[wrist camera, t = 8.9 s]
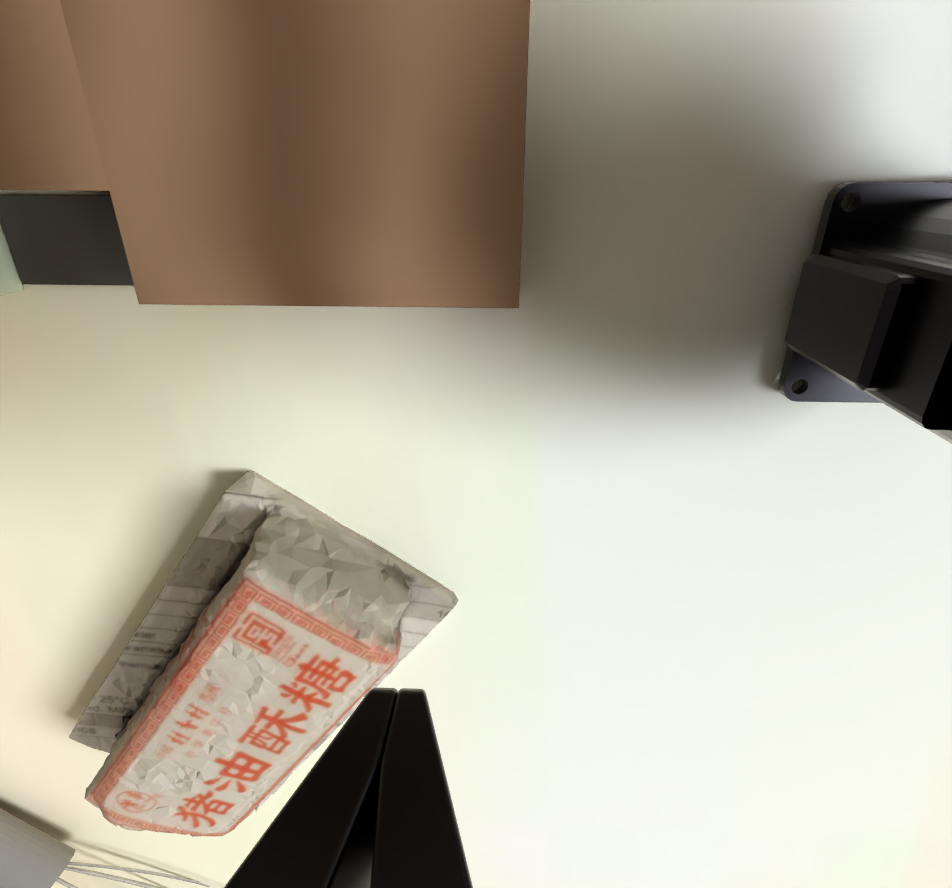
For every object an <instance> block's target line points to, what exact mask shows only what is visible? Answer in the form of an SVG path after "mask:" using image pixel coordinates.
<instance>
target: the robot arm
mask: <svg viewBox="0 0 952 888" xmlns="http://www.w3.org/2000/svg"><path fill="white" fill-rule="evenodd" d="M848 193H851V195H852V203H851V205H850V206H849V207H848V208H847V209H846V210H843V209H842V207H841V205H842V200H843V198H844V197H845V196H846V195H847V194H848ZM785 342H786V343H787V344H788V349H787V353H786V357H785V360H784V364H783V368H782V372H781V376H780V380H779V390H780V392H781V393H782V394H783V395H784V396H786V397H787V398H788V399H790V400H792V401H807V402H872V403H884V404H886V405H887V406H889V407H891V408H892V409H894V410H896V411H897V412H899V413H901V414H902V415H904V416H906V417H907V418H909V419H911V420H912V421H914V422H916V423H917V424H919V425H921V426H922V427H924V428H926V429H928V430H930V431H932V432H933V433H935V434H937V435H938V436H940V437H942V438H943V439H945V440H947V441H948V442H950V443H952V182H846V183H841V184H839V185H838V186H836V187H834V188H833V189H832V191H831V192H830V193H829V194H828V196H827V199H826V201H825V204H824V208H823V212H822V216H821V220H820V224H819V228H818V232H817V236H816V239H815V243H814V247H813V251H812V255H811V256H810V257H809V258H808V259H807V260H806V261H805V262H804V265H803V269H802V273H801V277H800V281H799V285H798V289H797V293H796V297H795V301H794V305H793V309H792V313H791V317H790V321H789V325H788V329H787V333H786V337H785ZM801 379H802V384H801V386H800V387H799V388H797V389H795V390H792V386H793V384H794V383H795V382H796V381H798V380H801ZM224 888H473V886H472V882H471V878H470V874H469V870H468V866H467V862H466V858H465V853H464V849H463V845H462V841H461V837H460V833H459V829H458V824H457V820H456V816H455V812H454V808H453V804H452V800H451V796H450V791H449V787H448V783H447V779H446V775H445V771H444V767H443V762H442V758H441V754H440V750H439V746H438V742H437V738H436V734H435V729H434V725H433V721H432V717H431V713H430V709H429V705H428V700H427V696H426V693H425V691H424V690H423V689H401V690H399V692H398V691H397V690H396V689H394V688H373V689H371V690H370V691H369V692H368V693H367V695H366V696H365V697H364V699H363V700H362V701H361V703H360V704H359V705H358V707H357V708H356V710H355V711H354V712H353V714H352V715H351V716H350V718H349V719H348V720H347V722H346V723H345V724H344V726H343V727H342V729H341V730H340V731H339V733H338V734H337V735H336V737H335V738H334V739H333V741H332V742H331V743H330V745H329V746H328V747H327V749H326V750H325V752H324V753H323V754H322V756H321V757H320V758H319V760H318V761H317V762H316V764H315V765H314V766H313V768H312V769H311V771H310V772H309V773H308V775H307V776H306V777H305V779H304V780H303V781H302V783H301V784H300V785H299V787H298V788H297V790H296V791H295V792H294V794H293V795H292V796H291V798H290V799H289V800H288V802H287V803H286V804H285V806H284V807H283V809H282V810H281V811H280V813H279V814H278V815H277V817H276V818H275V819H274V821H273V822H272V823H271V825H270V826H269V827H268V829H267V830H266V832H265V833H264V834H263V836H262V837H261V838H260V840H259V841H258V842H257V844H256V845H255V846H254V848H253V849H252V851H251V852H250V853H249V855H248V856H247V857H246V859H245V860H244V861H243V863H242V864H241V865H240V867H239V868H238V870H237V871H236V872H235V874H234V875H233V876H232V878H231V879H230V880H229V882H228V883H227V884H226V886H225V887H224Z"/></svg>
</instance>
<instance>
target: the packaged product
mask: <svg viewBox="0 0 952 888" xmlns="http://www.w3.org/2000/svg"><path fill="white" fill-rule="evenodd" d="M457 602H458V599H457V597H456V595H455V594H454V592H452V591H451V590H449V589H448V588H446V587H444V586H443V585H441V584H440V583H438V582H437V581H435V580H433V579H432V578H430V577H429V576H427V575H425V574H424V573H422V572H420V571H419V570H417V569H415V568H414V567H412V566H411V565H409V564H407V563H406V562H404V561H402V560H401V559H399V558H398V557H396V556H394V555H393V554H391V553H389V552H388V551H386V550H384V549H383V548H381V547H380V546H378V545H376V544H375V543H373V542H371V541H370V540H368V539H367V538H365V537H363V536H362V535H360V534H358V533H356V532H354V531H352V530H350V529H349V528H347V527H345V526H343V525H341V524H340V523H338V522H337V521H335V520H334V519H332V518H331V517H329V516H327V515H326V514H324V513H323V512H321V511H319V510H318V509H316V508H314V507H313V506H311V505H309V504H308V503H306V502H304V501H303V500H301V499H299V498H298V497H296V496H294V495H292V494H291V493H289V492H287V491H286V490H284V489H282V488H281V487H279V486H277V485H276V484H274V483H272V482H271V481H269V480H267V479H265V478H264V477H262V476H260V475H259V474H257V473H255V472H254V471H248V472H246V473H245V474H244V475H243V476H242V477H241V478H240V479H238V480H237V481H236V482H235V483H234V484H233V485H232V486H230V487H229V488H228V489H227V490H226V491H225V492H224V494H223V495H222V497H221V498H220V499H219V501H218V503H217V504H216V506H215V508H214V509H213V511H212V513H211V514H210V516H209V518H208V519H207V521H206V523H205V524H204V526H203V528H202V529H201V531H200V533H199V534H198V536H197V538H196V539H195V541H194V542H193V544H192V545H191V547H190V548H189V550H188V551H187V553H186V554H185V556H184V557H183V559H182V560H181V562H180V563H179V565H178V566H177V568H176V569H175V571H174V572H173V574H172V575H171V577H170V578H169V580H168V581H167V583H166V585H165V586H164V588H163V590H162V591H161V593H160V594H159V596H158V598H157V599H156V601H155V602H154V604H153V606H152V607H151V609H150V610H149V612H148V613H147V615H146V616H145V618H144V619H143V621H142V622H141V624H140V625H139V627H138V628H137V630H136V631H135V633H134V634H133V636H132V638H131V639H130V641H129V643H128V644H127V646H126V648H125V650H124V651H123V653H122V655H121V656H120V658H119V660H118V661H117V663H116V664H115V666H114V667H113V669H112V670H111V672H110V673H109V675H108V676H107V678H106V679H105V681H104V682H103V684H102V685H101V687H100V688H99V690H98V691H97V693H96V694H95V696H94V697H93V699H92V700H91V702H90V703H89V705H88V706H87V708H86V710H85V711H84V713H83V715H82V716H81V718H80V719H79V721H78V723H77V724H76V726H75V728H74V729H73V731H72V733H71V734H70V736H69V738H71V739H73V740H75V741H77V742H80V743H82V744H85V745H87V746H89V747H91V748H94V749H98V750H102V751H105V752H108V753H110V754H109V755H108V757H107V758H106V760H105V762H104V765H103V766H102V767H101V769H100V770H99V772H98V773H97V775H96V776H95V778H94V779H93V781H92V782H91V784H90V785H89V786H88V787H87V788H86V793H85V799H86V800H87V801H88V802H90V803H91V804H93V805H94V806H96V807H98V808H99V809H100V810H101V811H102V814H103V816H104V818H105V819H107V820H108V821H109V822H110V823H112V824H114V825H115V826H118V825H119V826H121V827H122V828H124V829H128V830H134V831H143V830H149V831H155V832H165V833H178V834H184V835H186V834H190V835H191V836H223V835H225V834H227V833H229V832H231V831H232V830H234V829H235V828H236V827H237V825H238V824H239V823H241V822H242V821H243V820H244V819H246V818H247V817H248V816H249V815H250V814H251V813H252V812H253V811H254V809H256V811H257V810H258V808H259V807H260V806H261V805H262V804H263V803H264V802H265V801H266V799H267V798H268V797H269V796H270V795H271V794H274V793H275V792H276V791H277V790H278V789H279V788H280V786H281V785H282V784H283V783H284V782H285V781H286V780H287V778H288V777H289V776H290V775H291V774H292V773H293V772H294V771H295V770H296V769H297V768H298V767H299V766H300V765H301V764H302V763H303V762H304V760H305V759H307V758H308V757H309V756H310V755H311V754H312V753H313V752H314V751H315V750H316V749H317V748H318V747H319V746H320V745H321V744H322V743H323V742H324V741H325V740H326V739H327V738H328V737H329V736H330V735H331V734H332V733H333V732H334V730H335V729H336V728H337V727H339V726H340V725H341V724H342V723H343V722H344V721H345V720H346V719H347V718H348V717H349V716H350V715H351V714H352V713H353V711H354V710H355V708H356V707H357V705H358V704H359V702H360V701H361V699H362V697H365V696H366V695H367V693H368V692H369V691H370V690H371V689H373V688H376V687H377V686H378V685H379V684H380V683H381V682H382V681H383V680H384V679H385V678H386V677H387V676H388V675H389V674H390V673H391V672H392V671H393V669H394V668H395V667H396V666H397V665H398V663H399V662H400V661H401V660H402V659H403V658H405V657H406V656H407V655H408V654H409V653H410V652H411V651H412V650H413V649H414V648H415V647H416V646H417V645H418V644H419V643H420V642H421V641H422V640H423V639H424V638H425V637H426V636H427V635H428V634H429V632H430V631H431V630H432V629H433V628H434V627H435V626H436V625H438V624H439V623H440V622H441V621H442V620H443V619H444V617H445V616H446V615H447V614H448V613H449V612H450V611H451V610H452V609H453V608H454V606H455V605H456V604H457Z"/></svg>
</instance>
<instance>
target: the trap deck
mask: <svg viewBox="0 0 952 888" xmlns="http://www.w3.org/2000/svg"><path fill="white" fill-rule="evenodd" d="M529 13H530V0H0V190H80V191H110V195H111V196H79V195H0V220H1V223H2V226H3V229H4V231H3V229H2V226H1V223H0V295H3V294H7V293H11V292H15V291H19V290H23V286H22V284H50V285H134V287H135V290H136V294H137V298H138V302H139V304H173V305H268V306H362V307H457V308H519V287H520V259H521V232H522V205H523V177H524V150H525V123H526V95H527V68H528V41H529ZM4 232H5V234H4ZM5 235H6V237H7V240H8V243H9V246H10V249H11V252H12V254H11V252H10V249H9V246H8V243H7V240H6V237H5ZM12 255H13V257H12ZM13 258H14V260H15V263H16V266H17V269H18V272H19V275H20V277H19V275H18V272H17V269H16V266H15V263H14V260H13ZM20 278H21V280H20ZM21 281H22V283H21Z"/></svg>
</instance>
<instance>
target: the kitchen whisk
mask: <svg viewBox="0 0 952 888" xmlns="http://www.w3.org/2000/svg"><path fill="white" fill-rule="evenodd" d="M74 853H75V849H73V848H71V847H69V846H68V845H66V844H64V843H62V842H60V841H59V840H57V839H55V838H53V837H51V836H50V835H48V834H46V833H44V832H42V831H41V830H39V829H37V828H35V827H33V826H32V825H30V824H28V823H26V822H24V821H23V820H21V819H19V818H17V817H15V816H14V815H12V814H10V813H8V812H6V811H5V810H3V809H1V808H0V888H51V887H52V885H53V884H54V883H55V881H57V882H59V883H61V884H63V885H65V886H66V887H68V888H77V887H76V886H74V885H72V884H70V883H68V882H66V881H64V880H62V879H61V878H59V876H60V875H61V873H62V872H63V870H69V871H74V872H79V873H84V874H89V875H93V876H98V877H102V878H107V879H111V880H116V881H120V882H124V883H128V884H132V885H136V886H140V887H144V888H161V887H158V886H154V885H151V884H147V883H143V882H139V881H135V880H131V879H127V878H123V877H118V876H114V875H109V874H104V873H100V872H95V871H90V870H85V869H80V868H74V867H69V866H67V865H77V866H88V867H99V868H108V869H116V870H125V871H132V872H138V873H145V874H151V875H158V876H163V877H168V878H173V879H178V880H183V881H187V882H192V883H196V884H200V885H203V886H207V885H205V884H203V883H200V882H198V881H195V880H192V879H187V878H182V877H178V876H173V875H168V874H163V873H157V872H151V871H145V870H139V869H132V868H125V867H116V866H108V865H99V864H89V863H78V862H69V861H70V860H71V858H72V857H73V855H74ZM207 887H209V886H207Z"/></svg>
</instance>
